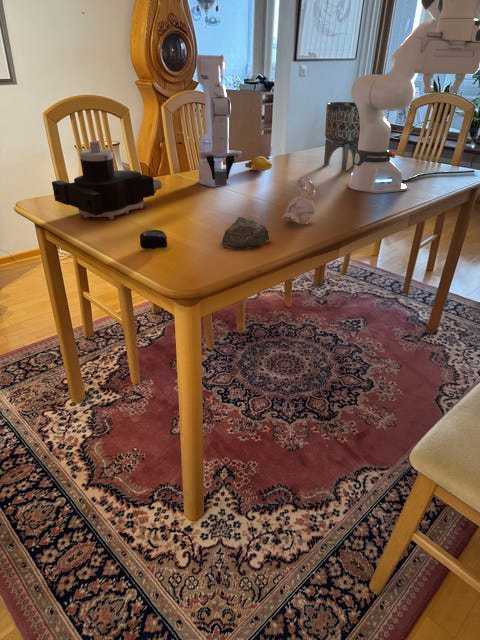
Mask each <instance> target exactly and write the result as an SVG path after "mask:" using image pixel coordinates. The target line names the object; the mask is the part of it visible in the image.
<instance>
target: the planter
mask: <svg viewBox="0 0 480 640" xmlns="http://www.w3.org/2000/svg"><path fill="white" fill-rule="evenodd" d="M324 125H325V126H324V139H325V144H324V156H323V157H324V158H323V165H325V166H328V165H330V163H331V158H332V156H333V154H334V153H335V151H336V150H337V149H340V148H341V150H342V153H341V166H340V170H341V172H345V171H347V167H348V166H347V165H348V159H349V152H350V154H351V157H352V158H351V159H352V160H351V161H352V166H353V167H354V166H355V155H356V149H357V148H358V142H359V134H360V119H359V113H358V109H357V106H356V104H355V103H354V101H333V102H327V103H326V109H325V124H324Z"/></svg>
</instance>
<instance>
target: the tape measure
mask: <svg viewBox="0 0 480 640" xmlns="http://www.w3.org/2000/svg"><path fill="white" fill-rule="evenodd" d="M167 236H168V235H167V234H166V232H165V231H164V230H161V229H147V230H144V231H143V232H141V233H140V235H139V240H140V241H139V245H140V246H139V247H141V248H142V249H146V250H157V249H167V248H168V240H167V239H168V237H167Z"/></svg>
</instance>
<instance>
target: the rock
mask: <svg viewBox="0 0 480 640" xmlns="http://www.w3.org/2000/svg"><path fill="white" fill-rule="evenodd" d="M269 241H270V233H269V230H268V229H267V228H266V226H265V225H263V224H261V223H259V222H256V221H255V220H252V219H247V218H245V217H241V216H238V217H237V218H236V219H235V221H234V222H233V223H232V224H231V225H229V226H228V227H227V228H226V229H225V231H224V233H223V236H222V239H221V244H222V247H224V248H229V249H231V250H245V249H254V248H257V247H259V246H260V245H264V244H266V242H269Z"/></svg>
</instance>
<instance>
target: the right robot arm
mask: <svg viewBox="0 0 480 640" xmlns="http://www.w3.org/2000/svg"><path fill="white" fill-rule="evenodd" d="M420 2H421V6H422V7H423V9H424V10H425V11H426V12H427V13H428V14H429V15H430V17H431V18H428V19H425V20H424V21H423V22H422V23H420V24H419V25H418V26H417V27H416V28H415V29H414V30H412V31H411V32H410V34H409V35H408V36H407V37H406V38H405V40H404V41H403V42H402V43H401V44H400V46H399V47H398V48H397V49H396V50H395V51H394V52H393V54H392V56H391V58H390V66H391V70H389V72H387V73H386V74H373V73H370V74H365V75H360V76H359V77H357V78H356V79H355V80H354V82H353V84H352V85H351V91H350V97H351V100H352V102H354V103H355V104H356V106H357V109H358V113H359V119H360V134H359V142H358V148H357V149H356V155H355V166H353V171H352V172H351V174H350V175H351V176H350V180H349V182H348V184H347V187H348V188H350V189H352V190H355V191H359V192H367V193H372V194H386V193H387V194H388V193H393V192H394V193H395V192H404V191H408V186H406V184H404V183H406V182H409V181H412V180H415V179H417V178H420V177H423V176H430V175H448V174H469V173H475V170H473V169H472V170H454V171H453V170H452V171H451V170H449V171H448V170H447V171H432V172H422V173H418V174H417V175H416V174H415V175H414V176H410V177H408V178H407V179H403V173H402V170H400V169H399V168H398V167H397V165H395V164H394V163H393V162H392V161H391V158H392V159H396V158H397V153H396V152H395V151H390V150H389V145H390V139H391V135H392V127H391V125H390V123H389V122H388V121H387V119H386V115H385V111H387V112H397V111H402V110H406V109H408V107H409V106H410V105H411V104H412V102H413V100H414V98H415V94H416V88H415V87H416V86H415V84H414V82H415V80H416V77H417V76H418V75H419V74H420V75H421V74H422V81H423V86H424V88H423V93H424V94H433V92H434V87H435V86H434V85H432V79H434V75H454V79H455V80H454V81H453V84H452V85H449V90H448V92H449V93H450V94H458V92H459V89H460V86H461V85H462V84H463V82H464V80H465V78H466V75H474V74H476V73H477V71H478V70H479V67H480V0H421V1H420Z"/></svg>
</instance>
